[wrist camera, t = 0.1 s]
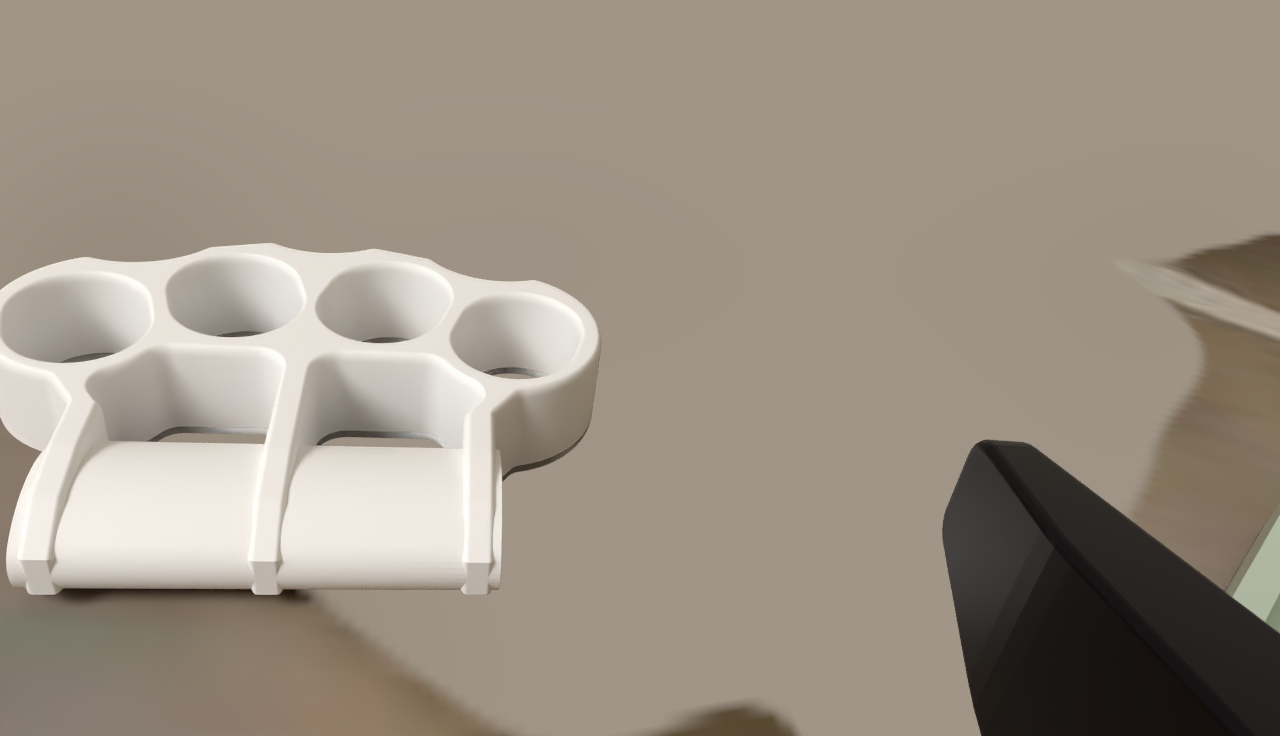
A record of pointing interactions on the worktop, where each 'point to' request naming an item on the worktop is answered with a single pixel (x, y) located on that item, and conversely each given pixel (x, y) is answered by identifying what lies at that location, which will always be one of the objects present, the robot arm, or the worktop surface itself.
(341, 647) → the worktop surface
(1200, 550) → the worktop surface
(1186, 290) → the worktop surface
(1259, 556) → the box
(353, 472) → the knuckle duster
